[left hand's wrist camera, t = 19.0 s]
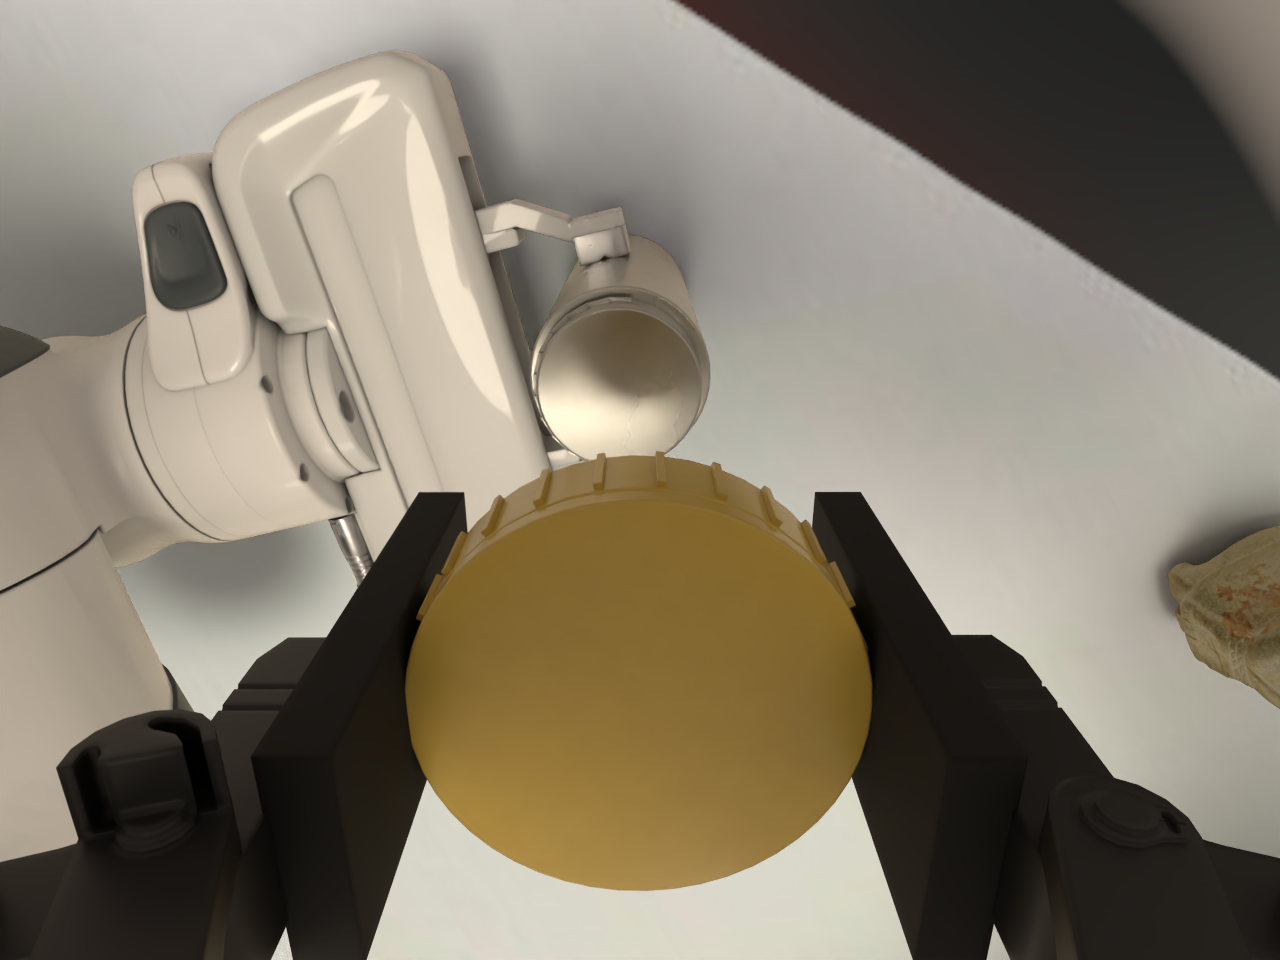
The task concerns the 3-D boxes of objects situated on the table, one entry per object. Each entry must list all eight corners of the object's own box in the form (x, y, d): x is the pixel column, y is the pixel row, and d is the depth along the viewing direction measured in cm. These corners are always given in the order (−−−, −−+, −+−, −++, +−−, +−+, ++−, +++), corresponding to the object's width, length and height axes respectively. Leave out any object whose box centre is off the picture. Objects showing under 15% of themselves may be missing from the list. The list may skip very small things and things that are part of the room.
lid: (840, 807, 13) (864, 890, 12) (453, 818, 13) (429, 903, 12) (863, 441, 11) (898, 487, 9) (399, 456, 11) (362, 504, 9)
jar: (552, 252, 35) (498, 321, 22) (669, 220, 35) (690, 271, 21) (585, 366, 37) (554, 497, 23) (697, 338, 37) (732, 455, 23)
